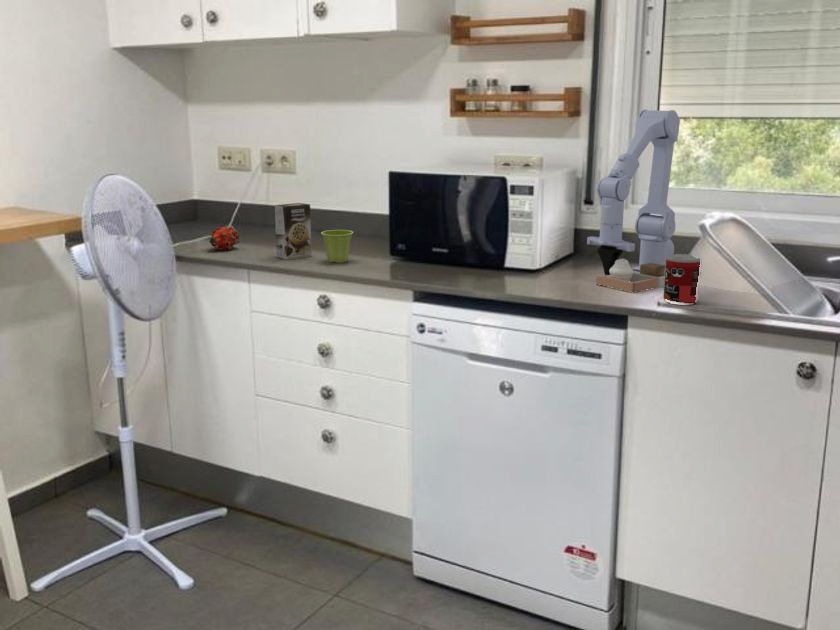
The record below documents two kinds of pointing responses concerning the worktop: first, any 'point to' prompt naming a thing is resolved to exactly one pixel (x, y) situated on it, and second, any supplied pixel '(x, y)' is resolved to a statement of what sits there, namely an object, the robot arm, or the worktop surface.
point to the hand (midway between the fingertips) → (608, 274)
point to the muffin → (621, 270)
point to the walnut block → (652, 269)
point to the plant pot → (337, 244)
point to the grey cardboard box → (293, 230)
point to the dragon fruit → (224, 238)
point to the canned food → (681, 278)
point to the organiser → (632, 282)
